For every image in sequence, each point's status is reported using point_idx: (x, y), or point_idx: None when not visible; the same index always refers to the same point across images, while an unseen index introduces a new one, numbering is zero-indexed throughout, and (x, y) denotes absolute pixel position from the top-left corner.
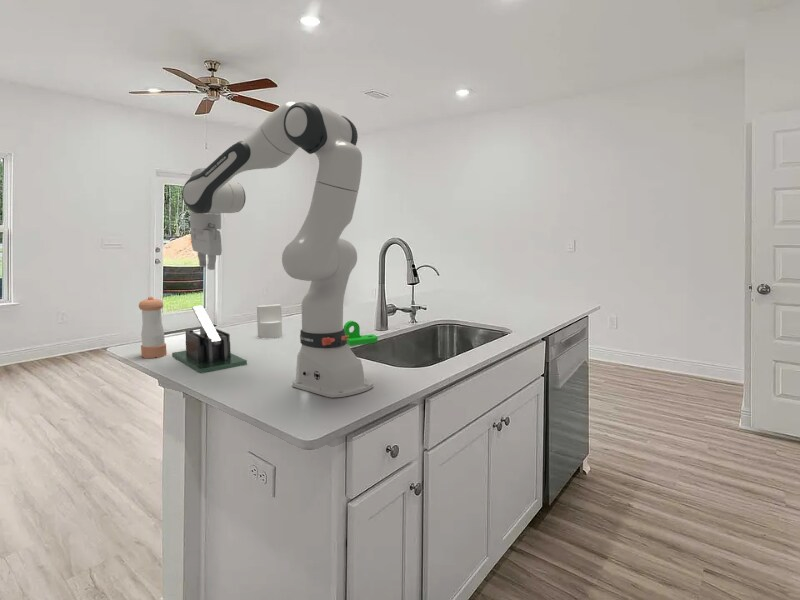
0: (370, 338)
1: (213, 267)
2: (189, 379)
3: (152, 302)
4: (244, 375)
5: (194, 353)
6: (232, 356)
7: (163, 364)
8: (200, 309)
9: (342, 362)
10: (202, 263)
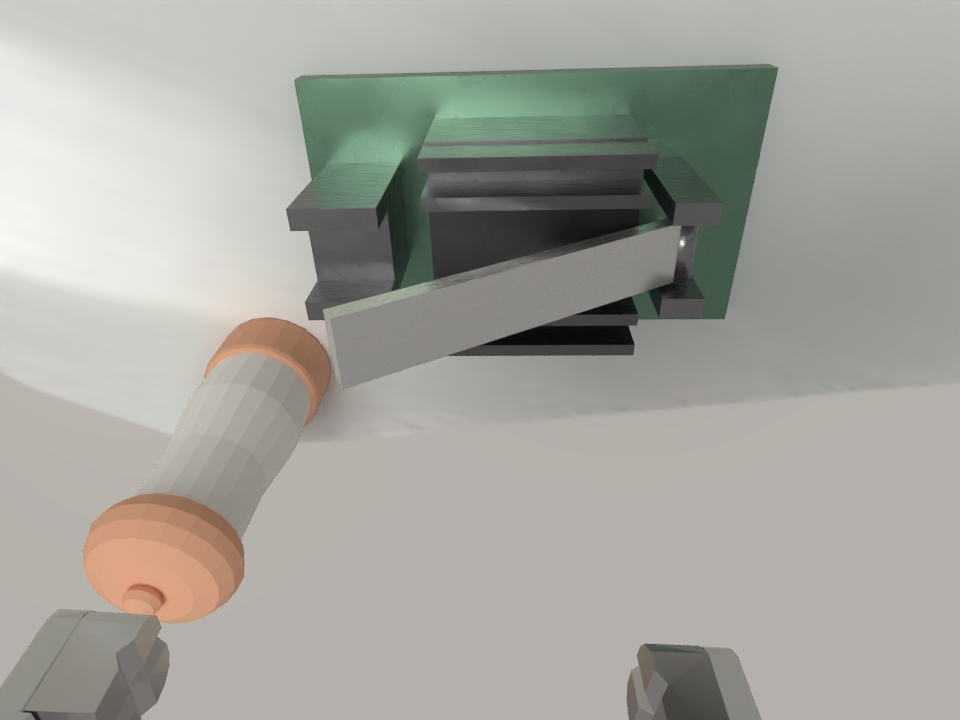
0: None
1: (739, 692)
2: (764, 367)
3: (217, 588)
4: (933, 169)
5: None
6: (624, 99)
7: (465, 376)
8: (380, 332)
9: None
10: (138, 708)
